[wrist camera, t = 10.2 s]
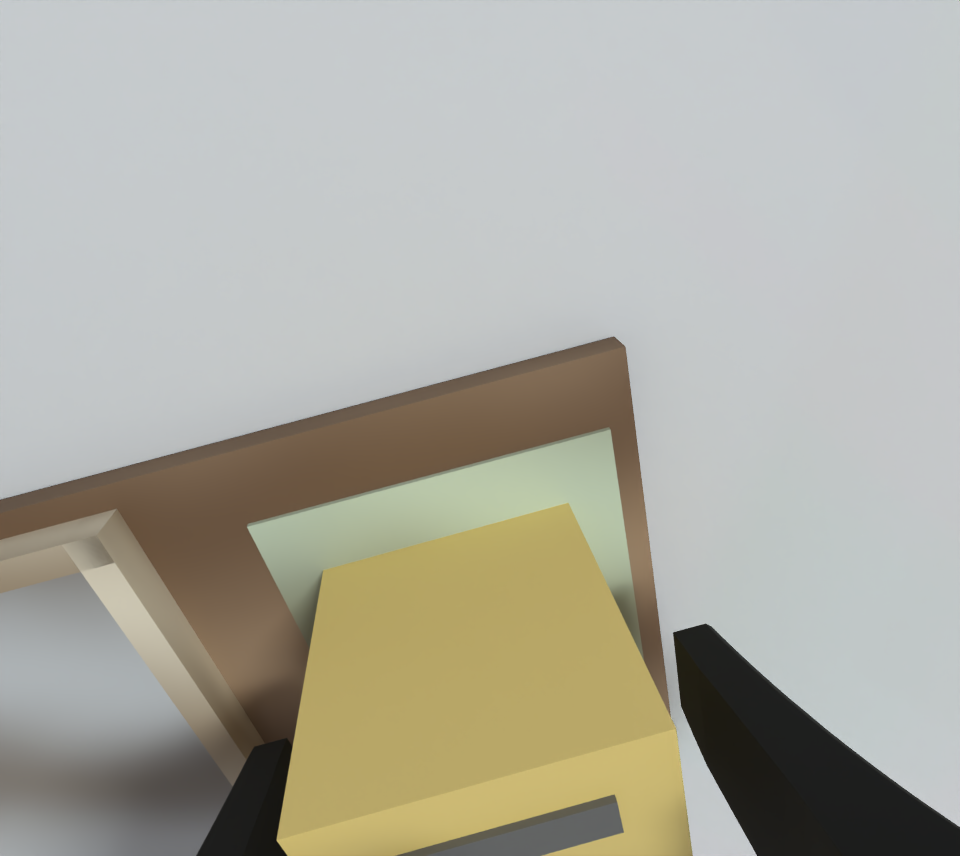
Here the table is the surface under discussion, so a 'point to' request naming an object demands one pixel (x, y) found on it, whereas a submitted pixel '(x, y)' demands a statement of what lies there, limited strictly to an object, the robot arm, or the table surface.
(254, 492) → the organizer board
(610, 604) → the letter cube
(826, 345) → the table surface
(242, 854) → the robot arm
